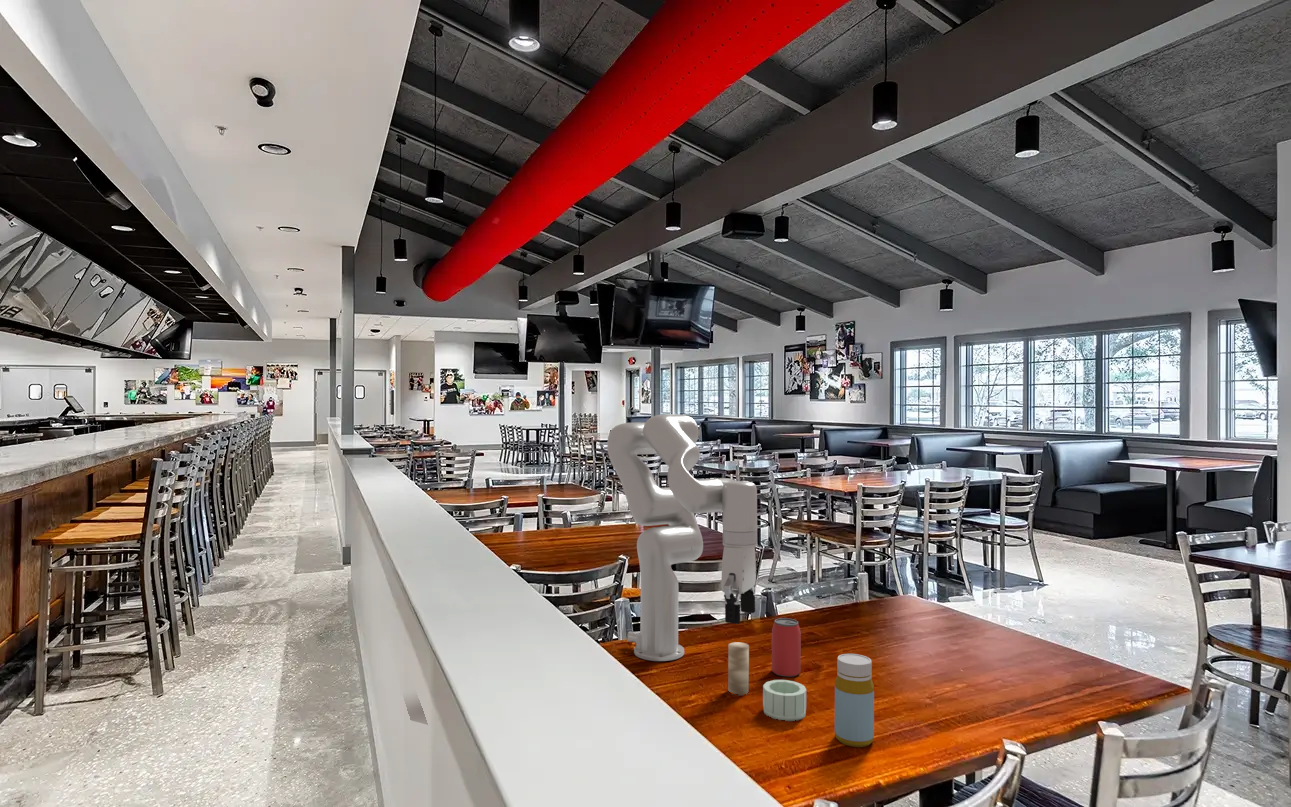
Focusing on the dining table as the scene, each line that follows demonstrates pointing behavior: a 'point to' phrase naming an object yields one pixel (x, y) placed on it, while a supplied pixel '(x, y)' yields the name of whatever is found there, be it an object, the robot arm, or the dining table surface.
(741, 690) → the plug
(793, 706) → the cup
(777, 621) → the beer can
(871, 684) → the bottle
